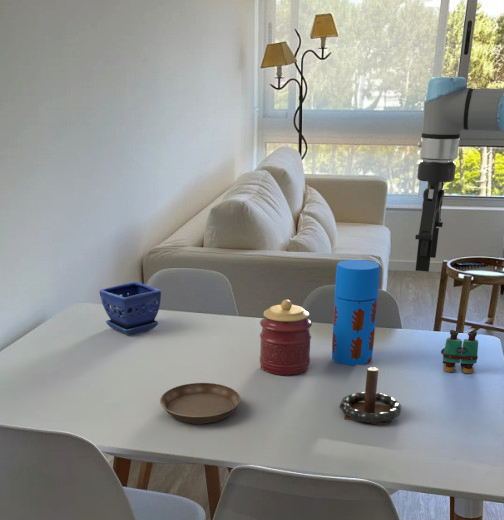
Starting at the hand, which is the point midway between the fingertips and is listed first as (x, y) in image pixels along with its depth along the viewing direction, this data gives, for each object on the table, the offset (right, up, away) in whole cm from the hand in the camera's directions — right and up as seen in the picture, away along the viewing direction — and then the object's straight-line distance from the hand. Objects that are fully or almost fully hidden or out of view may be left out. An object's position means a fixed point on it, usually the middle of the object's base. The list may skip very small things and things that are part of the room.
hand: (425, 263), depth 154 cm
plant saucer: (-49, -32, +4) cm, 59 cm away
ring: (-12, -31, 0) cm, 33 cm away
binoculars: (+15, -21, +29) cm, 38 cm away
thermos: (-11, -18, +34) cm, 40 cm away
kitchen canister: (-29, -21, +28) cm, 46 cm away
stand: (-12, -34, +1) cm, 36 cm away
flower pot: (-73, -7, +55) cm, 92 cm away
